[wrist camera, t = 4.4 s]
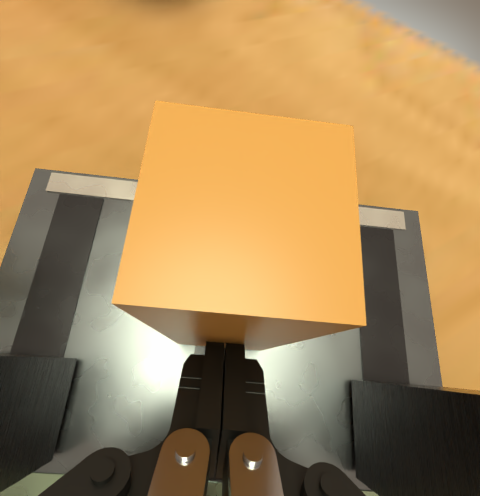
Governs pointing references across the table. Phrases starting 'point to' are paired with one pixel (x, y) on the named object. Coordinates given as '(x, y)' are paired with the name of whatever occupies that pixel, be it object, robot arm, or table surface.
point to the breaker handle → (243, 229)
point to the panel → (271, 360)
